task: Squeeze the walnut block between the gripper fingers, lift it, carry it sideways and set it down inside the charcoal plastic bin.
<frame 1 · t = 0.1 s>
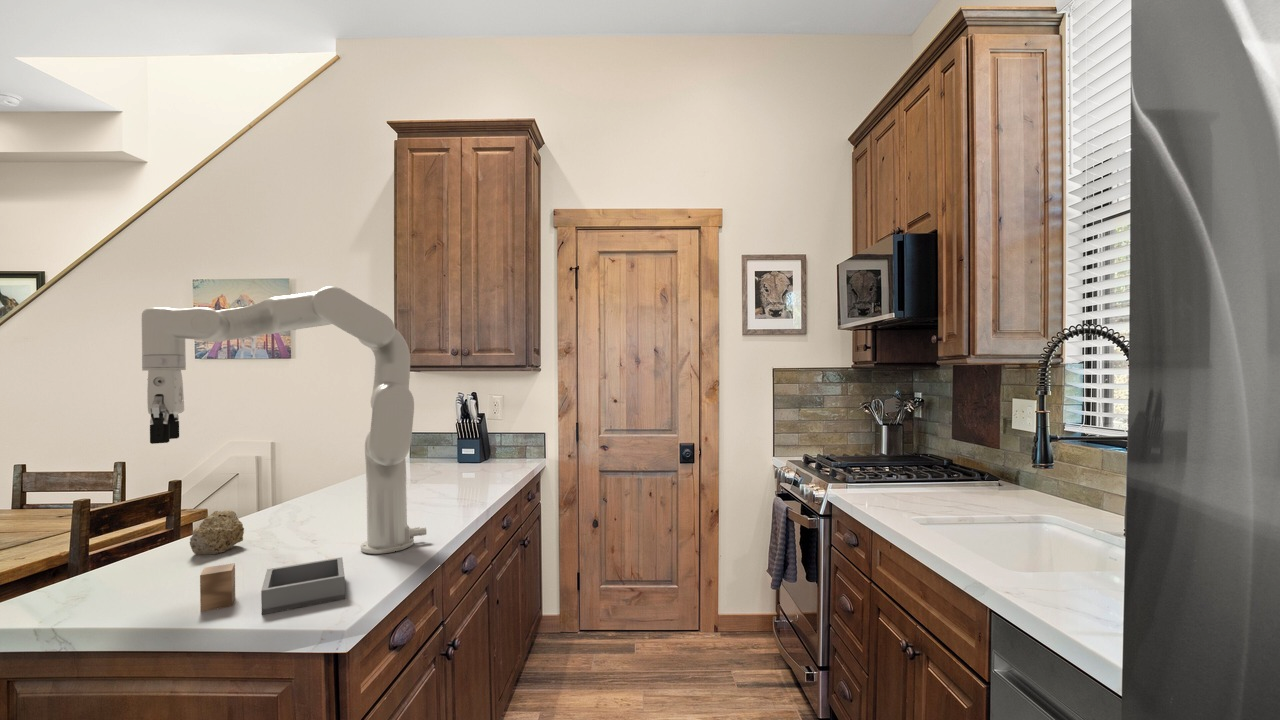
hand: (165, 440, 129), 31 cm above the counter, tool pointing down, fingers open, 9 cm apart
bin: (305, 594, 119), on the counter
walnut block: (218, 604, 115), on the counter
rock: (211, 552, 150), on the counter
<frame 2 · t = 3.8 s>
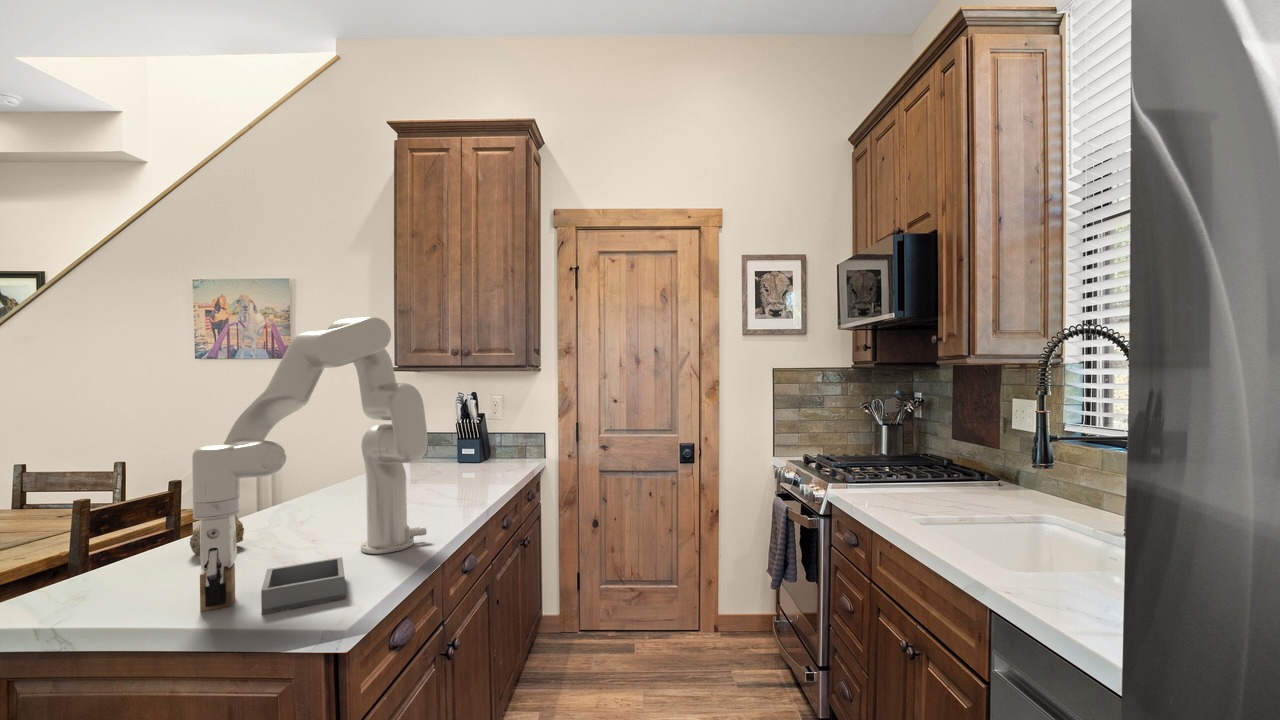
hand: (218, 599, 115), 1 cm above the counter, tool pointing down, fingers closed on walnut block, 5 cm apart
walnut block: (218, 604, 115), on the counter, touching gripper
everything else where it was.
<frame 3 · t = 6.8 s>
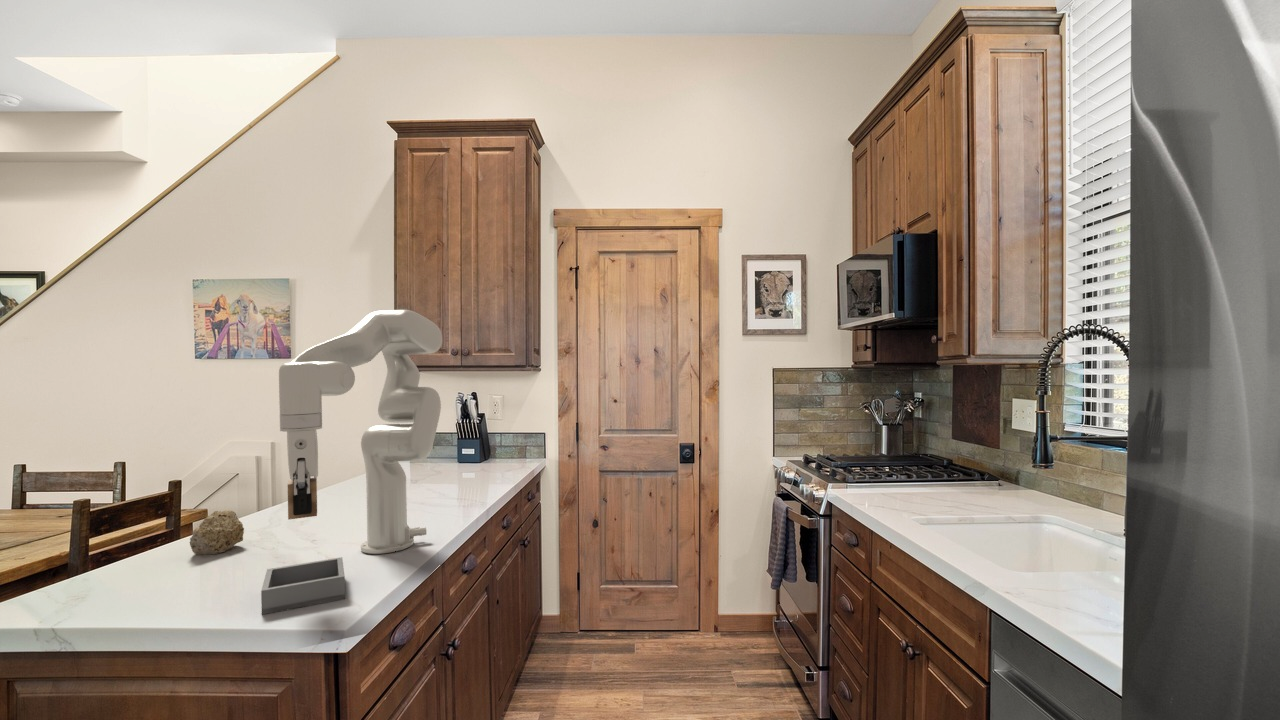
hand: (303, 510, 119), 17 cm above the counter, tool pointing down, fingers closed on walnut block, 5 cm apart
walnut block: (303, 515, 119), point 16 cm above the counter, touching gripper
everything else where it was.
when the fingers open (4 cm above the counter, at t = 9.8 s): walnut block drops 2 cm, resting on bin.
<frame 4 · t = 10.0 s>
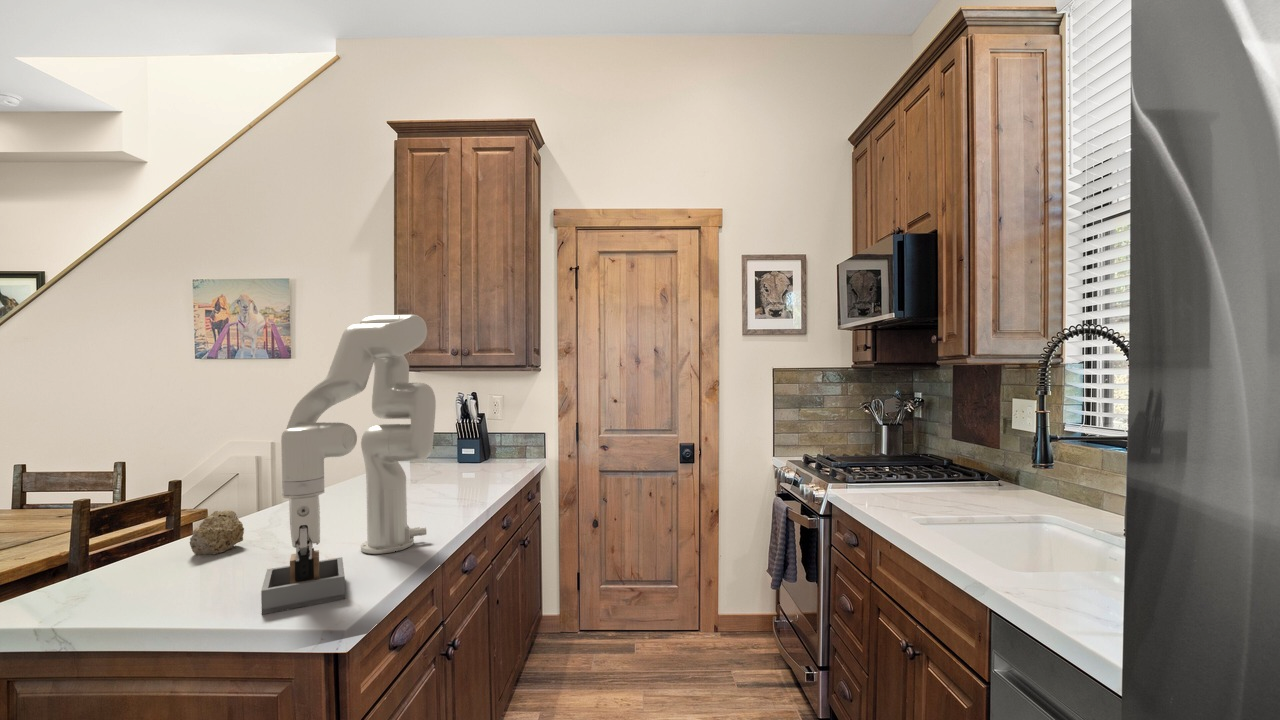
hand: (305, 573, 119), 4 cm above the counter, tool pointing down, fingers open, 7 cm apart
walnut block: (305, 589, 119), point 1 cm above the counter, touching bin
everything else where it was.
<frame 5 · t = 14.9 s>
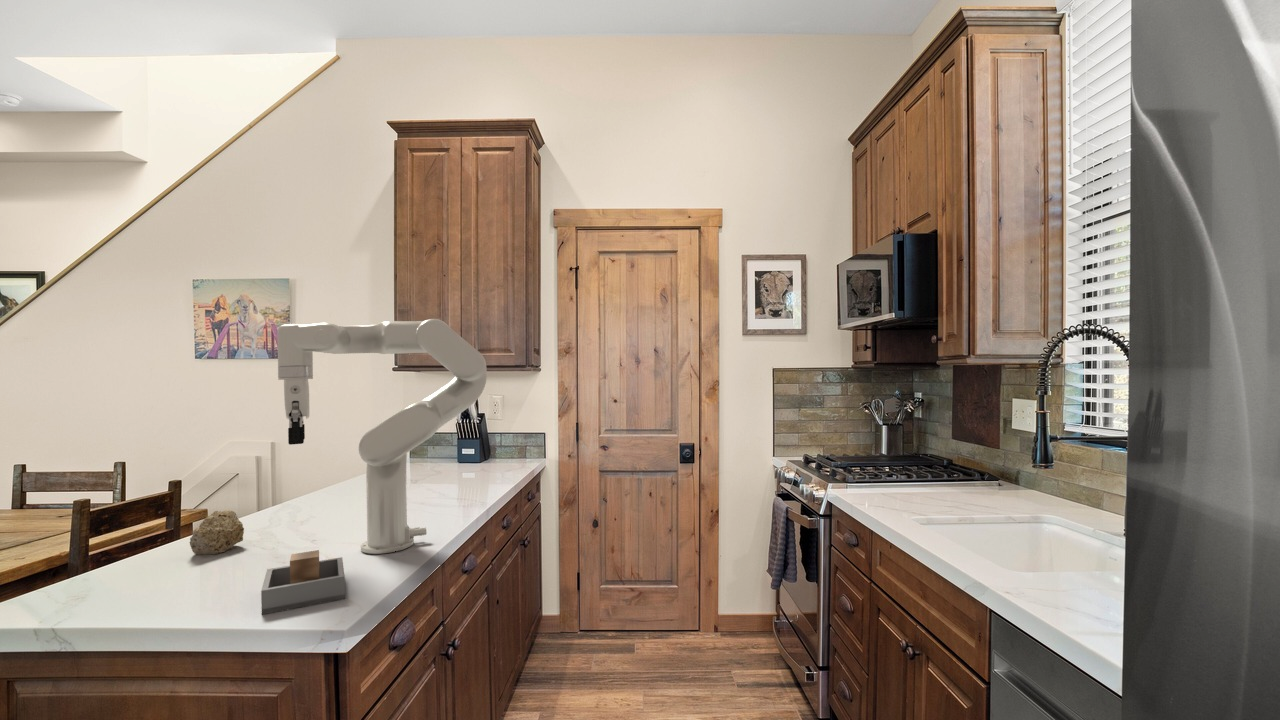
hand: (296, 442, 145), 28 cm above the counter, tool pointing down, fingers open, 9 cm apart
nothing on the counter moved.
at the end: walnut block inside the target area on the bin (0.1 cm from its centre), point 1.0 cm above the bin's base; the gripper is holding nothing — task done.
